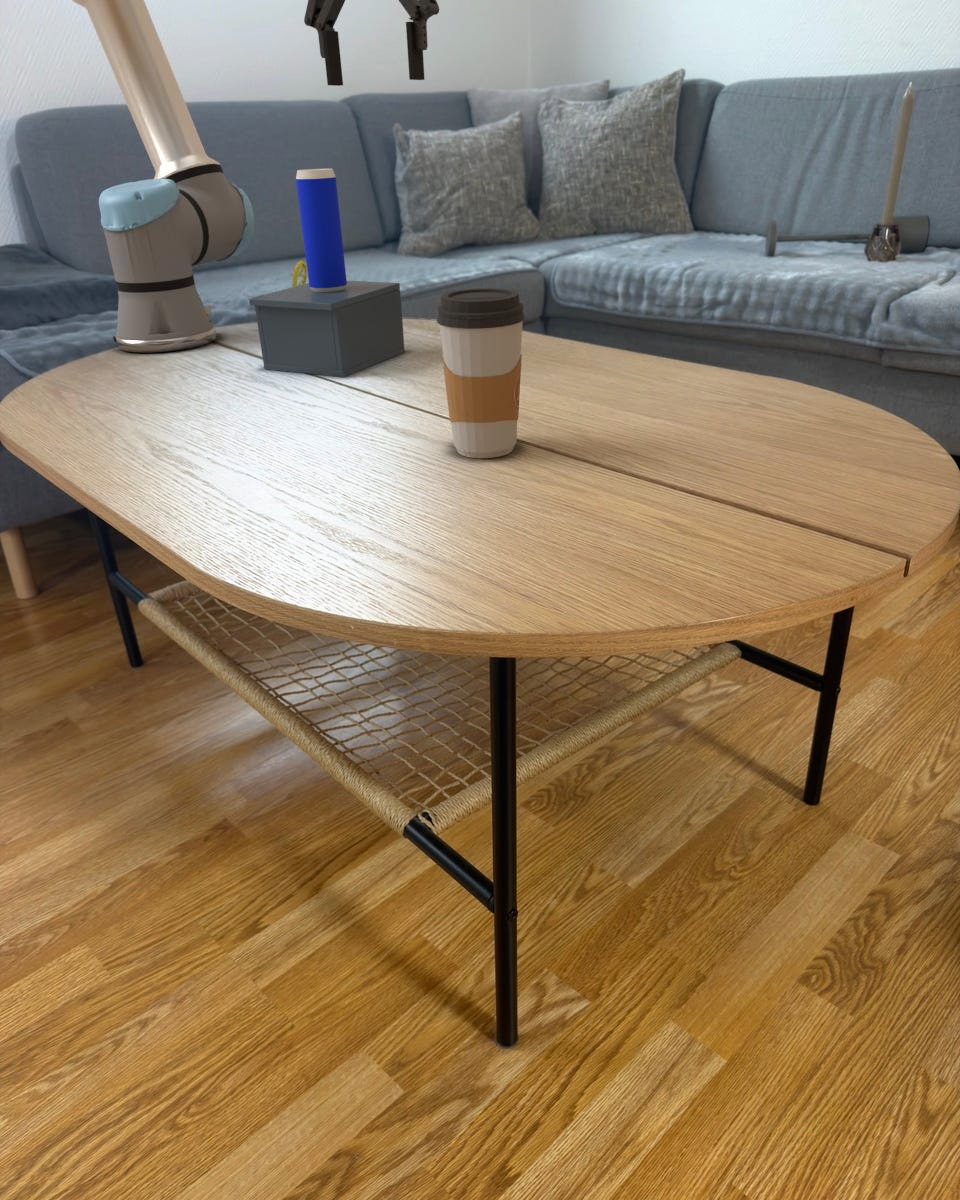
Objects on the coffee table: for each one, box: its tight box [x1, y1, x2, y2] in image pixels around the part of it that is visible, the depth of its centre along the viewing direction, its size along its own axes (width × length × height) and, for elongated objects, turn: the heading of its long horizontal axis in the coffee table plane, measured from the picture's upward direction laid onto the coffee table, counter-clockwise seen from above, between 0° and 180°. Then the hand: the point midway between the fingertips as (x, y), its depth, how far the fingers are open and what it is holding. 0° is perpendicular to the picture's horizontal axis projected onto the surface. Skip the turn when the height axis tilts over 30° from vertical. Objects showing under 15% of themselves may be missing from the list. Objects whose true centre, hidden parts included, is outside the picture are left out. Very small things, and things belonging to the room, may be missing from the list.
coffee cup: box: [436, 287, 526, 459], centre depth 85 cm, size 8×8×15 cm
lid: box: [248, 280, 401, 310], centre depth 120 cm, size 16×14×1 cm
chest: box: [254, 289, 406, 378], centre depth 123 cm, size 16×14×9 cm
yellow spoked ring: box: [292, 260, 308, 287], centre depth 145 cm, size 13×3×10 cm
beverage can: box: [295, 168, 348, 293], centre depth 117 cm, size 5×5×15 cm
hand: (375, 83), depth 121 cm, fingers open, 13 cm apart
